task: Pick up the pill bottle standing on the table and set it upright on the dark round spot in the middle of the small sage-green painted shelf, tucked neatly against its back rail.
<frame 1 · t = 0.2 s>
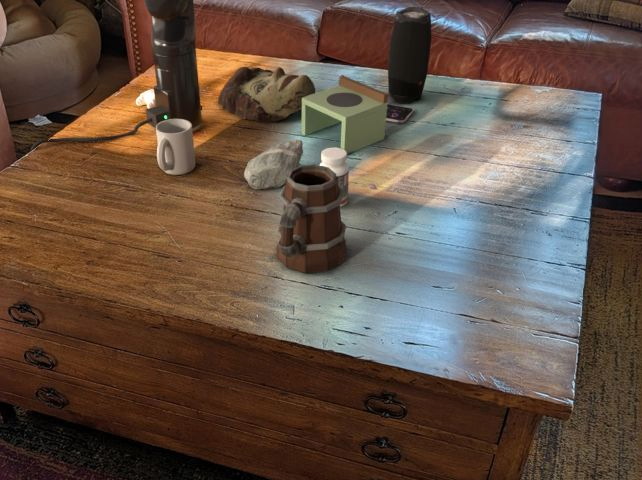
pill bottle: (332, 202, 139), on the table
portable speaker: (404, 98, 176), on the table
astronaut figurine: (158, 100, 179), on the table
mug: (305, 261, 125), on the table
shelf: (342, 136, 161), on the table
cup: (175, 171, 151), on the table
sculpture: (269, 104, 175), on the table
smartphone: (378, 112, 170), on the table
decorative stone: (275, 177, 147), on the table
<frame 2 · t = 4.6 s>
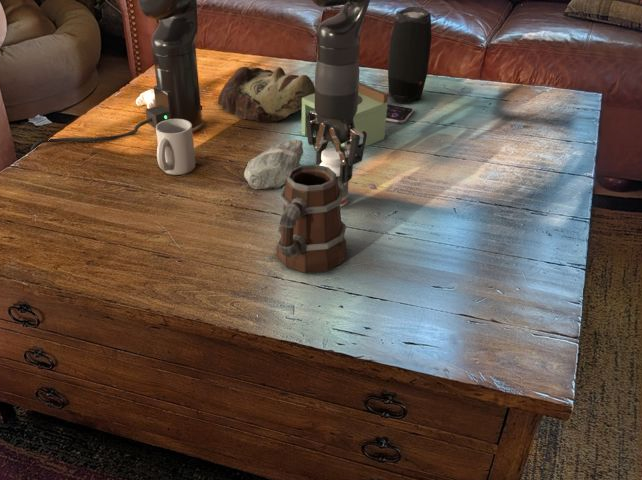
hand: (333, 174, 136), 6 cm above the table, tool pointing down, fingers closed on pill bottle, 5 cm apart
pill bottle: (332, 202, 139), on the table, touching gripper
everything else where it was.
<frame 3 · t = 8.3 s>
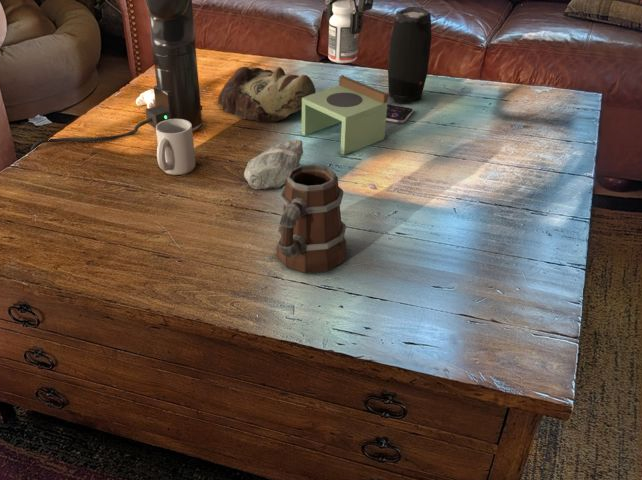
hand: (343, 28, 138), 25 cm above the table, tool pointing down, fingers closed on pill bottle, 5 cm apart
pill bottle: (342, 59, 142), point 19 cm above the table, touching gripper
everything else where it was.
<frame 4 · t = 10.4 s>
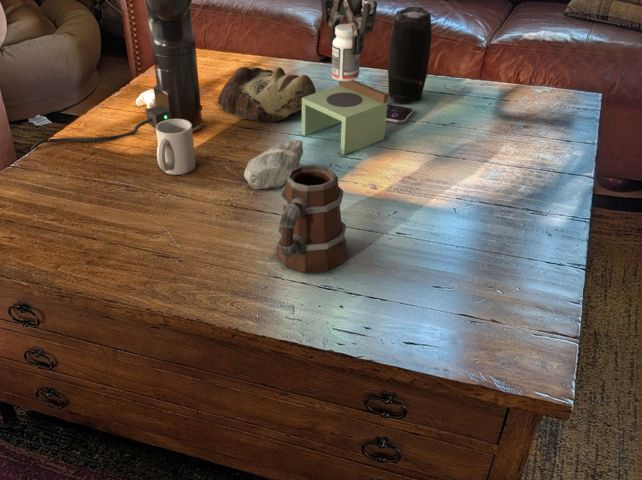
hand: (345, 49, 148), 19 cm above the table, tool pointing down, fingers closed on pill bottle, 5 cm apart
pill bottle: (345, 78, 152), point 13 cm above the table, touching gripper
everything else where it was.
when the fingers open (14 cm above the table, at t = 12.1 s): pill bottle stays where it is, resting on shelf.
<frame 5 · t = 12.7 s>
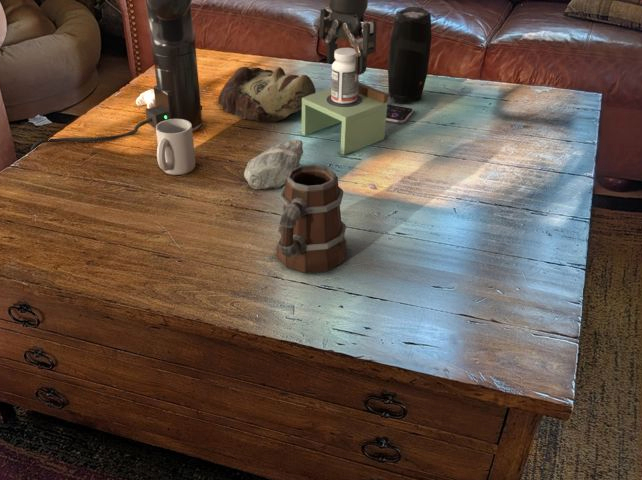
hand: (345, 68, 151), 15 cm above the table, tool pointing down, fingers open, 8 cm apart
pill bottle: (344, 100, 155), point 8 cm above the table, touching shelf
everything else where it was.
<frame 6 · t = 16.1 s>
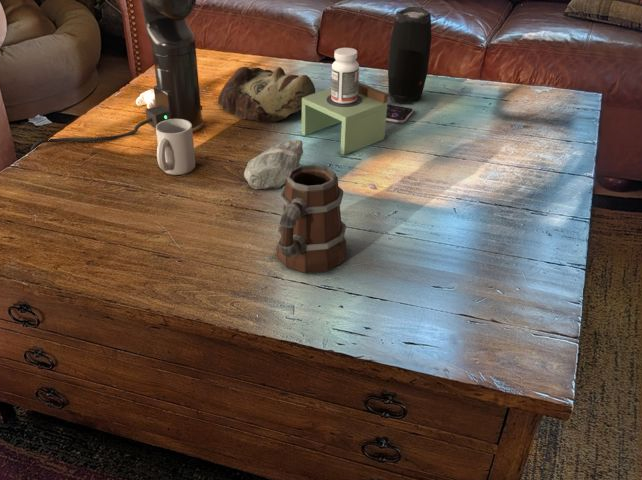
nothing on the table moved.
at the end: pill bottle 0.1 cm off-centre on the shelf, point 8.1 cm above the shelf's base; pill bottle tilted 0°; the gripper is holding nothing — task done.
